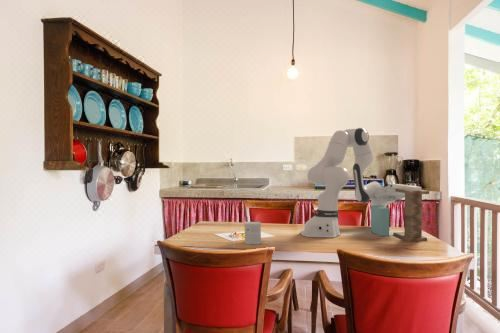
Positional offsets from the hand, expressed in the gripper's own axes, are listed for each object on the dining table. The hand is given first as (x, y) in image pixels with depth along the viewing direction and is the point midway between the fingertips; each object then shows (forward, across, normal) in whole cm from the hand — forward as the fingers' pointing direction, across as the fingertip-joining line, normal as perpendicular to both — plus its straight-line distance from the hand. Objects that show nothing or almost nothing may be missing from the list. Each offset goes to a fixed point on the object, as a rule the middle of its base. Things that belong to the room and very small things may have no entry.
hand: (397, 186), depth 190 cm
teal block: (-14, -11, +24) cm, 30 cm away
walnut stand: (-2, 0, +30) cm, 30 cm away
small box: (-1, -87, +32) cm, 93 cm away
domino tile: (+7, 0, +5) cm, 8 cm away
